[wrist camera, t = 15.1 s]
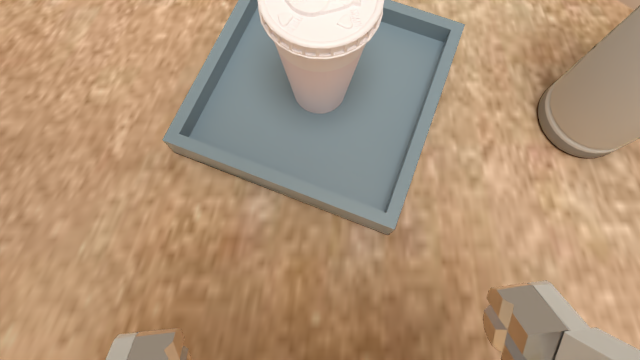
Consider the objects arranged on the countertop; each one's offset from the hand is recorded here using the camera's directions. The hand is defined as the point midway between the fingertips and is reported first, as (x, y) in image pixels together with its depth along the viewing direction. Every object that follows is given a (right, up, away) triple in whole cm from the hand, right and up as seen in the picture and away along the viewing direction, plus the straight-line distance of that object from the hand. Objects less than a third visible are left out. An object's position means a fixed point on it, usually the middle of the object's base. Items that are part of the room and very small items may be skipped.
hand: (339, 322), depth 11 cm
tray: (-1, +10, +19) cm, 21 cm away
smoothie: (-1, +10, +18) cm, 21 cm away
